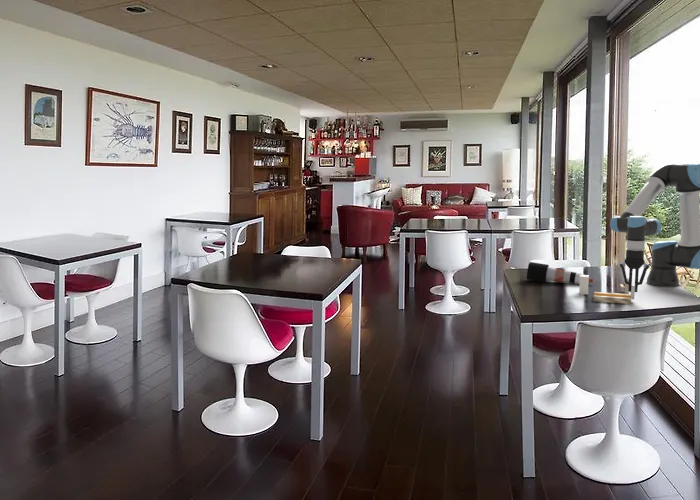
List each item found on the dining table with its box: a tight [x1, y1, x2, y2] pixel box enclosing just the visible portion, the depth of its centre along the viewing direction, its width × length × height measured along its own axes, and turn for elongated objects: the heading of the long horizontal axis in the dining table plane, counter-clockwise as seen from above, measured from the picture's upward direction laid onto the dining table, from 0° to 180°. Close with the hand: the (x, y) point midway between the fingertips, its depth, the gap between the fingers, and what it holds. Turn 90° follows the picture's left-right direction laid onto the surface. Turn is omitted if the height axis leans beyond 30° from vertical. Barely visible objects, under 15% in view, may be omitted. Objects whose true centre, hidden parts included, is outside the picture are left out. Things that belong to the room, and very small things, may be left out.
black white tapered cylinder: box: [526, 261, 594, 285], centre depth 316 cm, size 10×34×10 cm
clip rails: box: [593, 291, 632, 305], centre depth 276 cm, size 16×10×2 cm, turn 66°
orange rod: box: [593, 292, 631, 298], centre depth 275 cm, size 16×3×3 cm
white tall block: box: [578, 274, 590, 295], centre depth 291 cm, size 4×4×9 cm
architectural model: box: [619, 277, 630, 294], centre depth 292 cm, size 3×7×7 cm, turn 162°
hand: (632, 298), depth 272 cm, fingers closed
